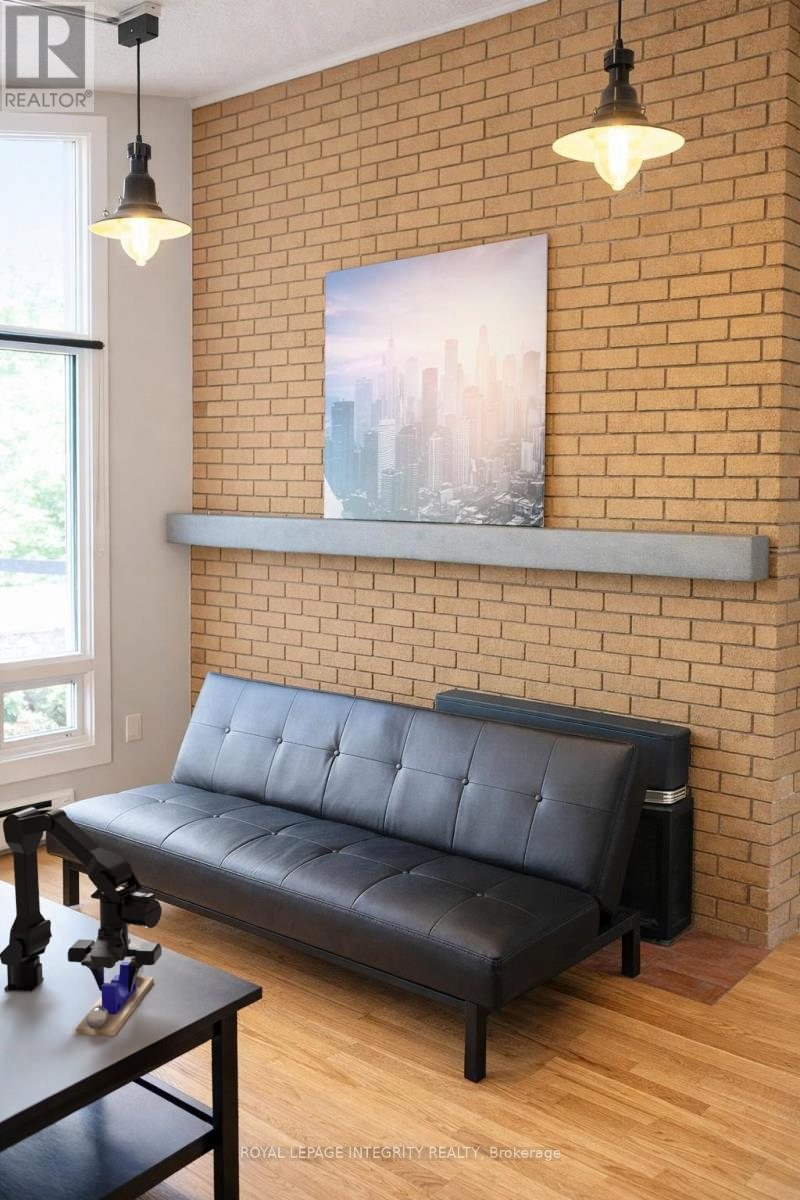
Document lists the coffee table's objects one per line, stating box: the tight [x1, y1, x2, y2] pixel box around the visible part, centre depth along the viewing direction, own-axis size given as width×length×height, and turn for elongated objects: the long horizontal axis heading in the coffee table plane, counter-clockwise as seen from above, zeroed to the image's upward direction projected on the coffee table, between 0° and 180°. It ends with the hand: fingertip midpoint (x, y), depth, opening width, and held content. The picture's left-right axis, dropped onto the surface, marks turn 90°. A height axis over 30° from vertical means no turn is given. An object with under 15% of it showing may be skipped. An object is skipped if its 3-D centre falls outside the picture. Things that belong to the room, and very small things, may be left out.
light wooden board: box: [74, 975, 155, 1037], centre depth 239 cm, size 8×25×1 cm, turn 174°
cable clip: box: [101, 961, 136, 1014], centre depth 239 cm, size 12×4×6 cm, turn 173°
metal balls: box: [85, 965, 145, 1029], centre depth 239 cm, size 4×25×4 cm, turn 174°
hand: (115, 991), depth 239 cm, fingers open, 6 cm apart
